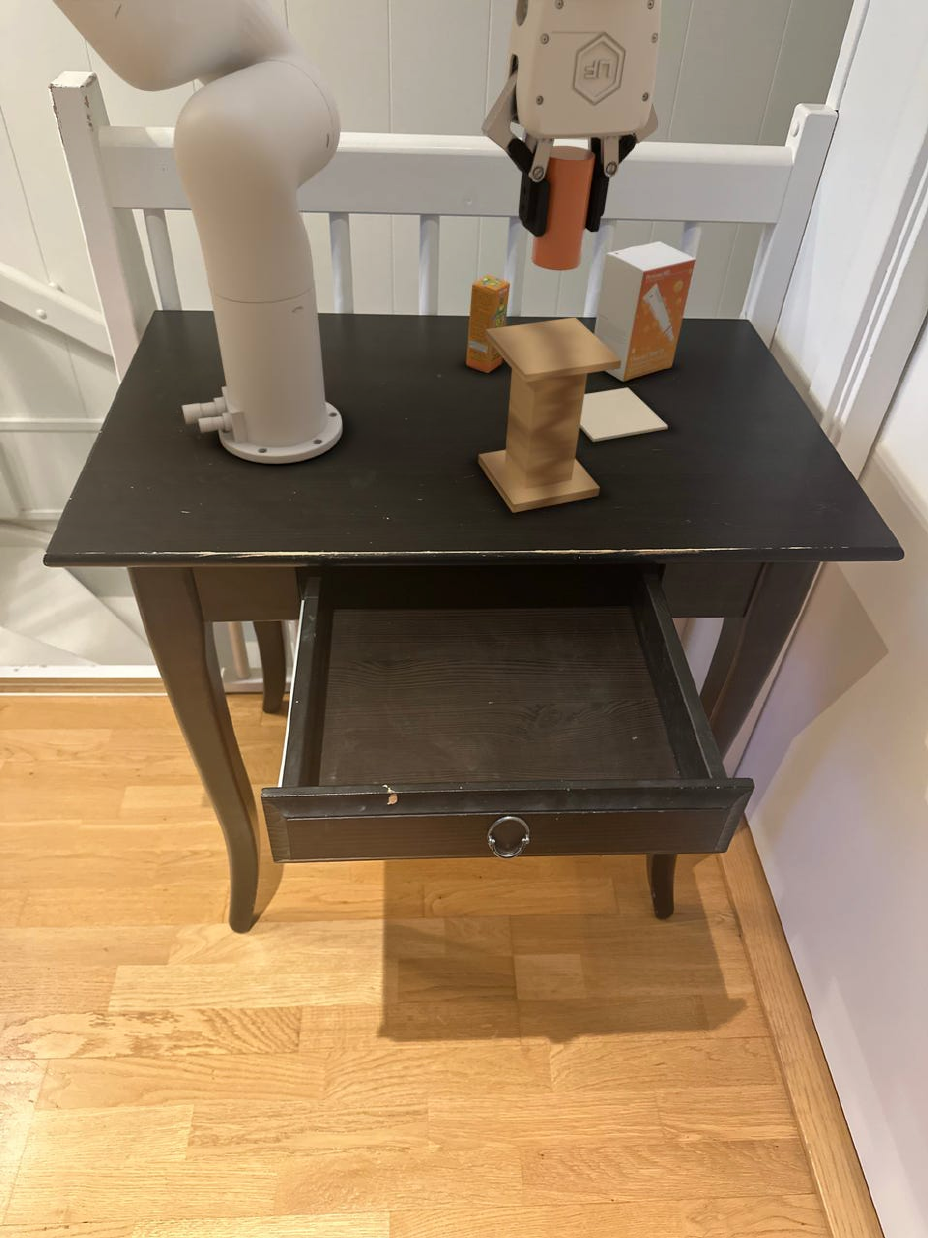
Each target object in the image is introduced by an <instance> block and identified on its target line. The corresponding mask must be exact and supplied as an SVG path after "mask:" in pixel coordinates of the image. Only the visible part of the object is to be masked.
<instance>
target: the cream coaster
mask: <svg viewBox="0 0 928 1238" xmlns="http://www.w3.org/2000/svg"><path fill="white" fill-rule="evenodd" d="M668 428H669V426H668V424H667V423H666V422H665V421H663V420H662V419H661V418H660V417H659V416H658V415H657V414H656V413H655V412H654V411H653V410H652V409H651V408H650V407H649V406H648V405H647V404H646V403H645V402H644V401H643V400H641V399H640V398H639V397H638V396H637V395H636V394H635V393H634V392H633V391H632V390H631V389H630V388H629V387H622V388H616V389H609V390H603V391H598V392H591V393H584V399H583V406H582V413H581V420H580V427H579V429H580V430H582V431H583V433H584V434H585V435H586V436H587V437H588V438H589V440H590V441H592V443H597V442H602V441H608V440H613V439H620V438H624V437H630V436H635V435H640V434H641V435H642V434H647V433H654V432H657V431H664V430H668Z"/></svg>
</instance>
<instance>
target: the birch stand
mask: <svg viewBox="0 0 928 1238" xmlns="http://www.w3.org/2000/svg"><path fill="white" fill-rule="evenodd" d="M485 338H486V339H487V340H488V341H489V342H490V343H491V344H492V346H493V347H494V348H495V349H496V350H497V351H498V353H499V354H500V355H501V356H502V359H503V360H505V361H504V362H506V363H507V364H508V365H509V367H510V368H511V379H510V391H509V404H508V415H507V416H508V417H507V428H506V441H505V449H503V450H498V451H491V452H485V453H479V454H478V458H477V459H478V461H477V462H478V465H479V466H480V468H481V470H483V472H484V473H485V475H486V476H487V478H488V480H489V481H490V482H491V483H492V485H493V486H494V488H495V489H496V490H497V492H498V494H499V495H500V496H501V498H502V499H503V501H504V502H505V504H506V505H507V507H508V508H509V509H510V511H511V513H513V514H514V513H515V514H516V513H518V512H520V513H521V512H524V511H529V510H534V509H540V508H544V507H550V506H554V505H555V506H556V505H560V504H565V503H570V502H575V501H581V500H585V499H590V498H595V497H599V496H600V495H599V494H600V487H601V486H599V485H598V484H597V482H596V481H595V480H594V479H593V477H591V475H590V474H589V473H588V472H587V470H586V469H585V468H584V467H583V466H582V465H581V464H580V462H579V461H578V460H577V459H576V455H577V454H576V453H577V448H578V447H577V446H578V441H579V433H580V420H581V413H582V406H583V399H584V394H586V393H585V391H586V386H587V377H588V374H592V373H597V372H598V373H599V372H606V370H612V369H619V368H620V367H621V359H620V358H619V357H618V356H617V355H615V354H614V353H613V352H612V351H611V350H610V349H609V348H608V347H607V346H606V345H605V344H604V343H602V342H601V341H600V340H599V339H598V338H597V337H596V336H595V335H594V332H592V331H591V330H590V329H589V328H587V327H586V326H585V325H584V324H583V323H582V322H581V321H580V320H579V319H578V318H577V317H569V318H562V319H561V318H560V319H554V320H544V321H538V322H530V323H525V324H524V323H523V324H515V325H507V326H505V327H499V328H491V329H486V330H485Z"/></svg>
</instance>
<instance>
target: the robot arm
mask: <svg viewBox="0 0 928 1238" xmlns="http://www.w3.org/2000/svg"><path fill="white" fill-rule="evenodd" d="M52 2H53V3H54V4H55V5H56V7H57V8H58V9H59V10H60V12H61V13H62V14H63V15H64V16H65V17H66V18H67V20H68V21H69V22H70V23H71V25H72V26H73V27H74V28H75V29H76V30H77V32H78V33H79V34H80V35H81V36H82V38H83V39H84V40H85V41H86V42H87V43H88V45H89V46H90V47H91V49H93V50H94V51H95V53H96V54H97V55H98V56H99V57H100V59H101V60H102V61H103V62H104V63H105V64H106V65H107V66H108V67H109V68H110V69H111V71H112V72H113V73H114V74H115V75H117V76H118V77H119V78H120V79H121V80H122V81H124V82H125V83H126V84H127V85H129V86H131V87H133V88H135V89H137V90H140V91H144V92H145V91H146V92H160V91H166V90H170V89H174V88H177V87H179V86H183V85H186V84H188V83H190V82H192V81H193V82H194V81H195V80H198V81H199V82H200V83H201V84H202V85H203V86H201V87H200V88H199V89H197V91H195V92H194V93H193V94H192V95H191V96H190V97H189V98H188V99H187V101H186V102H185V103H184V105H183V106H182V108H181V110H180V112H179V114H178V117H177V119H176V121H175V126H174V130H173V131H174V132H173V142H172V143H173V145H172V146H173V154H174V161H175V165H176V171H177V173H178V176H179V179H180V182H181V185H182V188H183V190H184V193H185V196H186V199H187V201H188V204H189V207H190V210H191V213H192V217H193V219H194V223H195V227H196V230H197V234H198V238H199V242H200V247H201V251H202V257H203V263H204V267H205V273H206V279H207V283H208V284H207V285H208V288H209V293H210V299H211V305H212V310H213V316H214V317H213V318H214V321H215V327H216V333H217V334H216V335H217V339H218V345H219V350H220V356H221V362H222V367H223V368H222V369H223V373H224V380H225V386H222V387H221V392H222V396H221V397H214V398H213V401H209V402H203V403H200V402H197V403H191V404H183V405H181V409H182V413H183V417H184V421H185V425H186V426H188V425H189V426H190V425H195V424H198V425H199V429H200V433H201V434H205V433H210V432H211V433H212V432H215V431H218V436H219V440H220V443H221V444H222V446H223V447H224V448H225V449H226V451H228V452H229V453H231V454H232V455H233V456H236V457H239V458H240V459H243V460H245V461H250V462H252V463H260V464H269V465H270V464H272V465H274V464H275V465H280V464H282V465H283V464H291V463H297V462H303V461H306V460H309V459H313V458H315V457H317V456H320V455H323V454H324V453H325V452H327V451H329V450H330V449H331V448H333V447H334V446H335V445H336V444H338V442H339V440H340V439H341V437H342V434H343V420H342V415H341V414H340V412H339V410H338V409H337V408H336V407H335V406H334V405H332V404H330V403H329V402H327V401H326V391H325V382H324V381H325V380H324V369H323V359H322V358H323V357H322V346H321V335H320V325H319V323H320V322H319V313H318V312H319V311H318V302H317V301H318V300H317V290H316V289H317V288H316V280H315V271H314V260H313V253H312V248H311V241H310V239H309V235H308V231H307V229H306V225H305V223H304V220H303V217H302V215H301V211H300V208H299V204H298V198H297V190H298V189H299V188H301V186H302V185H303V184H305V183H306V182H308V181H309V180H311V179H312V178H314V177H315V176H316V175H317V174H319V173H320V172H322V171H323V169H325V168H326V167H327V166H328V165H329V164H330V162H331V161H332V159H333V158H334V156H335V155H336V152H337V149H338V146H339V144H340V138H341V118H340V117H341V116H340V113H339V108H338V105H337V102H336V99H335V97H334V94H333V92H332V90H331V88H330V86H329V84H328V82H327V81H326V79H325V78H324V76H323V74H322V73H321V71H320V70H319V69H318V67H317V66H316V64H315V63H314V62H313V60H312V59H311V58H310V56H309V55H308V54H307V52H306V51H305V50H304V48H303V46H301V44H300V43H299V42H298V40H297V39H296V37H295V36H294V35H293V33H292V32H291V31H290V30H289V28H288V26H287V25H286V24H285V22H284V21H283V20H282V19H281V17H280V16H279V15H278V13H277V12H276V11H275V10H274V7H272V6H271V4H270V3H269V2H268V0H52ZM662 5H663V1H662V0H516V2H515V6H514V10H513V11H514V12H513V16H512V23H511V30H510V35H509V43H508V50H507V57H506V66H505V75H504V85H503V89H502V90H501V93H500V94H499V96H498V97H497V99H496V101H495V103H494V104H493V106H492V108H491V109H490V111H489V113H488V114H487V116H486V118H485V120H484V121H483V123H482V126H481V131H482V134H483V135H484V136H485V137H487V138H488V139H489V140H491V141H492V142H493V143H494V144H496V146H498V147H499V148H501V149H502V150H503V151H504V152H505V153H506V154H507V156H508V157H509V159H510V160H511V161H512V162H513V164H515V166H516V168H517V170H519V172H521V181H520V191H519V192H520V193H519V200H518V201H519V203H518V218H519V221H521V225H522V227H523V228H525V230H526V231H528V232H529V234H532V236H533V237H534V236H535V237H543V235H545V233H546V225H547V216H548V207H549V198H550V189H551V185H550V182H548V181H547V180H546V179H545V176H546V170H547V166H548V162H549V158H550V155H551V151H552V147H553V146H554V143H555V140H560V139H562V140H563V139H581V138H583V139H585V138H587V150H590V151H592V152H593V153H594V154H595V163H594V170H593V177H592V184H591V191H590V198H589V205H588V212H587V219H586V226H585V230H587V231H588V232H589V233H598V232H599V231H600V227H601V221H602V217H603V216H604V214H605V211H606V204H607V198H608V193H609V185H610V179H611V178H612V177H614V176H616V174H618V171H619V165H620V164H622V162H623V161H625V159H626V158H627V157H628V156H629V155H630V154H631V153H632V151H633V150H634V149H635V147H636V145H637V144H638V145H639V144H640V143H642V142H643V141H644V140H646V139H647V138H648V137H649V136H651V135H652V134H653V133H654V132H655V131H657V129H658V127H659V120H658V117H657V113H656V111H655V107H654V104H653V99H654V91H655V85H656V78H657V77H656V76H657V69H658V60H659V59H658V58H659V49H660V41H661V27H662ZM511 123H514V124H516V125H519V126H521V127H522V128H524V129H523V133H522V138H520V137H518V136H517V135H516V134H515V133H513V131H512V130H511Z"/></svg>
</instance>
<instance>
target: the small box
mask: <svg viewBox="0 0 928 1238" xmlns="http://www.w3.org/2000/svg"><path fill="white" fill-rule="evenodd" d="M696 261H697V259H696V258H695V257H693V256H691V255H689V254H687V253H684V252H682V251H680V250H678V249H676V248H674V247H672V246H670V245H668V244H666V243H664V242H662V241H660V240H659V241H654V242H650V243H645V244H640V245H639V244H638V245H634V246H629V247H626V248H623V249H619V250H614V251H609V252H606V254H605V259H604V265H603V271H602V272H603V273H602V280H601V286H600V292H599V297H598V298H599V299H598V306H597V312H596V317H595V318H596V319H595V324H594V325H595V326H594V332H593V334H594V335H595V336H596V337H597V338H598V339H599V340H600V341H601V342H602V343H604V344H605V345H606V346H607V347H608V348H609V349H610V350H611V351H612V352H613V353H614V354H615V355H617V356H618V357H619V358H620V359H621V367H620V368H619V369H612V370H606V371H605V373H607V374H609V375H611V376H612V377H614V378H615V379H617V380H619V381H621V382H623V383H625V382H628V381H630V380H632V379H633V380H634V379H636V378H639V377H644V376H646V375H649V374H652V373H655V372H659V371H662V370H666V369H667V370H668V369H670V368H672V366H673V362H674V358H675V354H676V349H677V344H678V340H679V336H680V333H681V332H680V331H681V327H682V323H683V318H684V314H685V310H686V304H687V302H688V301H687V300H688V297H689V296H688V295H689V293H690V292H689V291H690V289H691V283H692V279H693V274H694V270H695V265H696Z"/></svg>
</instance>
